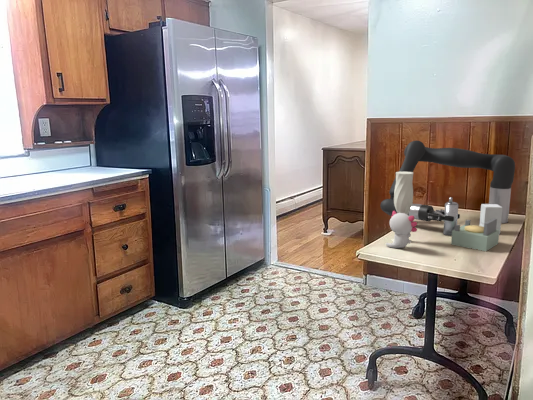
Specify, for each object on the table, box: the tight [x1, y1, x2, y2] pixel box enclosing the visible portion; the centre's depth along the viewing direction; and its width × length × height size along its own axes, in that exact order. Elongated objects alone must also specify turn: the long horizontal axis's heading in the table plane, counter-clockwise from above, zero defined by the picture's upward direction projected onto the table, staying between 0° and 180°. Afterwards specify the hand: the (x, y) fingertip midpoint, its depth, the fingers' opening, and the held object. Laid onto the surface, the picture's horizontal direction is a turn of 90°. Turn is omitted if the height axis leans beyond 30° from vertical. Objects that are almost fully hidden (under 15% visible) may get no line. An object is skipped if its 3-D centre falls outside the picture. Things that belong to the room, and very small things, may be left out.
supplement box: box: [478, 203, 502, 235], centre depth 203 cm, size 7×7×13 cm
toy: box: [384, 211, 418, 249], centre depth 181 cm, size 14×8×15 cm, turn 29°
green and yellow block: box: [450, 218, 500, 252], centre depth 186 cm, size 14×14×11 cm
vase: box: [390, 171, 414, 243], centre depth 190 cm, size 9×8×30 cm
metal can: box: [442, 196, 459, 237], centre depth 200 cm, size 6×6×17 cm
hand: (456, 217), depth 199 cm, fingers closed on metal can, 5 cm apart
